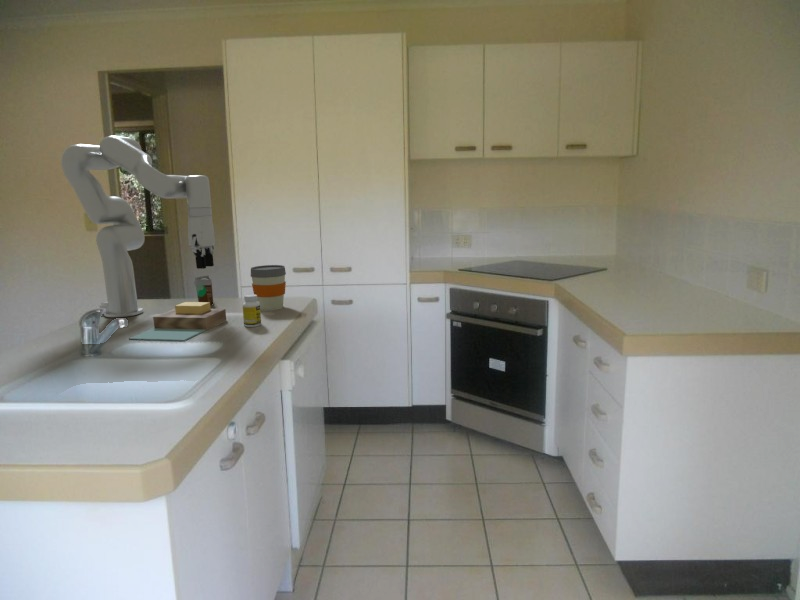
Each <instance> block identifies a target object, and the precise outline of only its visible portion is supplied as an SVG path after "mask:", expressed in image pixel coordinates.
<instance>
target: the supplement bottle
mask: <svg viewBox="0 0 800 600" xmlns="http://www.w3.org/2000/svg"><path fill="white" fill-rule="evenodd" d="M243 297H244V302H243V303H242V315H243V326H244V327H246V328H254V327H255V328H256V327H259V326H261V325H262V315H261V313H262V312H261V310H260V303H259V302H258V301H257V295H255V294H254V293H253V294H245V295H243Z"/></svg>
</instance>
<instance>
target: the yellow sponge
mask: <svg viewBox="0 0 800 600" xmlns="http://www.w3.org/2000/svg"><path fill="white" fill-rule="evenodd" d="M174 309H175V311H176V313H191V314H202V313H204V312H206V311H209V310H211V309H212V308H211V305H210V302H198V301H184V302H181V303H179V304H176V305H175V306H174Z"/></svg>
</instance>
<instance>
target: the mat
mask: <svg viewBox="0 0 800 600" xmlns="http://www.w3.org/2000/svg"><path fill="white" fill-rule="evenodd" d="M206 331H207V330H205V329H163V328H154V327H153V328H151V329H148V330H146V331H143V332H141V333H138V334H136V335H134V336H133V335H132V336H131V337H129V338H128V340H129V339H143V340H142V341H166V342H186V341H188V340H190V339H192V338H194V337H196V336H198V335H200V334H202V333H204V332H206ZM187 339H188V340H187ZM185 340H186V341H185Z"/></svg>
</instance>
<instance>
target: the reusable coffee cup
mask: <svg viewBox="0 0 800 600" xmlns="http://www.w3.org/2000/svg"><path fill="white" fill-rule="evenodd" d="M286 274H287V272H286V267H285V265H282V264H281V265H279V264H266V265H257V266H252V267H250V277H251V280H252V283H251V286H252V290H253V292H252V293H253V294H255V295H257V301H258V302H259V303H260V311H266V310H268V311H277V310H280V309H283V308H284V297H285V294H286V286H287V285H286V284H287V283H286V282H287V281H286Z"/></svg>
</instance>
